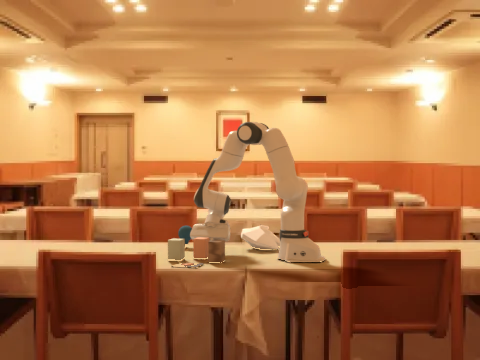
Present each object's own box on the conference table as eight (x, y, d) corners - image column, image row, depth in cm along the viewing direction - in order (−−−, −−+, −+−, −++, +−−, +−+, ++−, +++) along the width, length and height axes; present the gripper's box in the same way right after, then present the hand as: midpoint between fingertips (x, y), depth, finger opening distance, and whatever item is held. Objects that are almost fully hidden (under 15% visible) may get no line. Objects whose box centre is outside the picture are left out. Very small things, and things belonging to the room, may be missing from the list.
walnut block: (225, 261, 252) (224, 240, 252) (221, 264, 246) (220, 242, 246) (212, 261, 254) (212, 239, 253) (208, 263, 248) (208, 241, 248)
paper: (276, 254, 273) (276, 229, 272) (232, 251, 283) (232, 227, 282) (292, 246, 296) (292, 224, 295) (251, 244, 306) (251, 222, 305)
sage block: (184, 259, 258) (184, 238, 257) (179, 262, 252) (179, 240, 252) (173, 259, 259) (172, 238, 259) (167, 261, 254) (167, 240, 253)
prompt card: (203, 264, 245) (203, 262, 245) (196, 268, 236) (196, 266, 236) (179, 263, 248) (178, 261, 248) (171, 267, 240) (171, 265, 240)
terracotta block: (209, 258, 262) (209, 237, 261) (205, 260, 256) (205, 239, 256) (197, 257, 263) (197, 237, 263) (193, 259, 258) (193, 238, 257)
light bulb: (186, 249, 288) (186, 226, 288) (175, 247, 293) (174, 225, 293) (197, 247, 295) (196, 225, 294) (185, 246, 300) (185, 224, 299)
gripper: (192, 219, 276) (185, 241, 267) (230, 221, 271) (224, 243, 262) (195, 227, 281) (188, 249, 272) (233, 229, 275) (227, 251, 266)
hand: (206, 246), depth 267 cm, fingers closed
